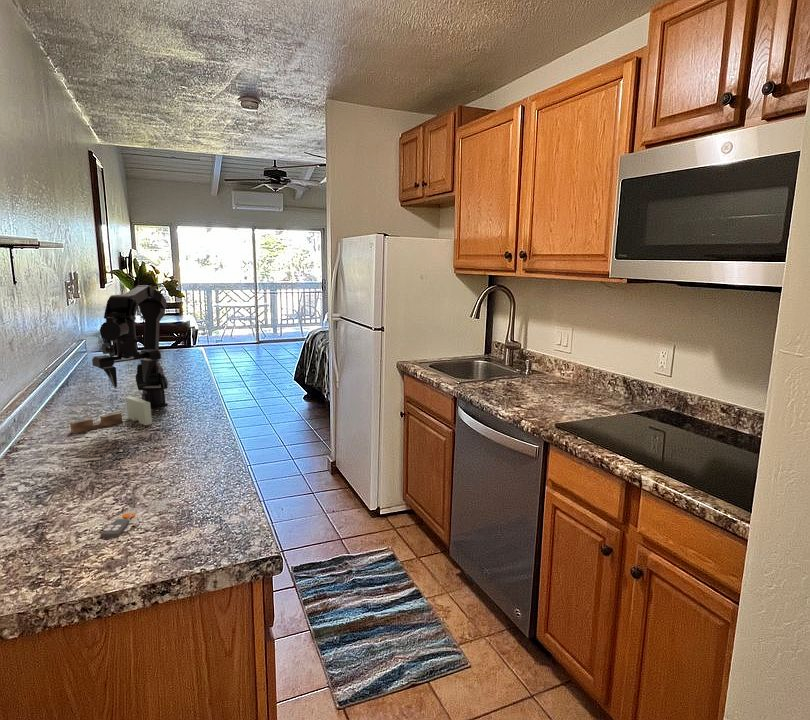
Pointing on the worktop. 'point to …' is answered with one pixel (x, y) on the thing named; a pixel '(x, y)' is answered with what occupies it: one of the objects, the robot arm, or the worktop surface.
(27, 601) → the worktop surface
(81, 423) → the walnut rail
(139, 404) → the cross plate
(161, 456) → the worktop surface
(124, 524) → the key chain
